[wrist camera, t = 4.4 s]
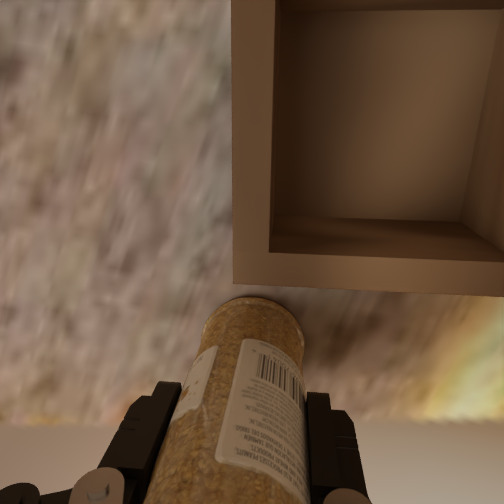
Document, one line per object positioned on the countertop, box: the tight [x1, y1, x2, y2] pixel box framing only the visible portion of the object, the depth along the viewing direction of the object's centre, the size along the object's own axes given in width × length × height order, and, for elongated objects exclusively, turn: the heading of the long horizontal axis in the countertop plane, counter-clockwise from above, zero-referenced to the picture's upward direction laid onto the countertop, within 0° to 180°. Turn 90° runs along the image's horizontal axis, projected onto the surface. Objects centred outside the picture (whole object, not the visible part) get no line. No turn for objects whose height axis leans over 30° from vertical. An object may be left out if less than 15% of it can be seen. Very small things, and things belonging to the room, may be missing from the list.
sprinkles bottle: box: [143, 297, 311, 504], centre depth 11 cm, size 5×5×13 cm
